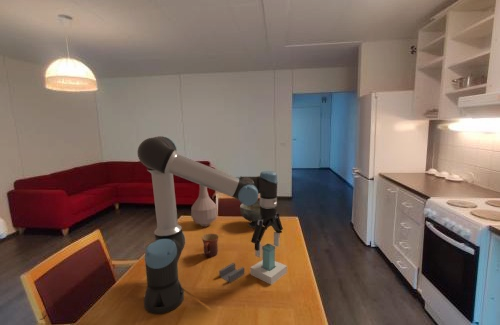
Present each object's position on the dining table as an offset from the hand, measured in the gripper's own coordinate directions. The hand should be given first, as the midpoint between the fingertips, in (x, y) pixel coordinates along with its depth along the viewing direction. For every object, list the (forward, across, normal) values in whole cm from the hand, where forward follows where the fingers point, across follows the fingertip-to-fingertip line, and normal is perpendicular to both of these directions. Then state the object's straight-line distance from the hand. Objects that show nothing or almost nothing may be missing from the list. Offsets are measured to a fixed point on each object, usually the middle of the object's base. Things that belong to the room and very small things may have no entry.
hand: (267, 251), depth 117 cm
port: (+12, 0, 0) cm, 12 cm away
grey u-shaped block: (+12, -12, +12) cm, 20 cm away
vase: (+13, +20, +70) cm, 74 cm away
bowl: (+12, +40, +42) cm, 60 cm away
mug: (+13, -6, +34) cm, 36 cm away
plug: (+12, 0, -1) cm, 12 cm away
